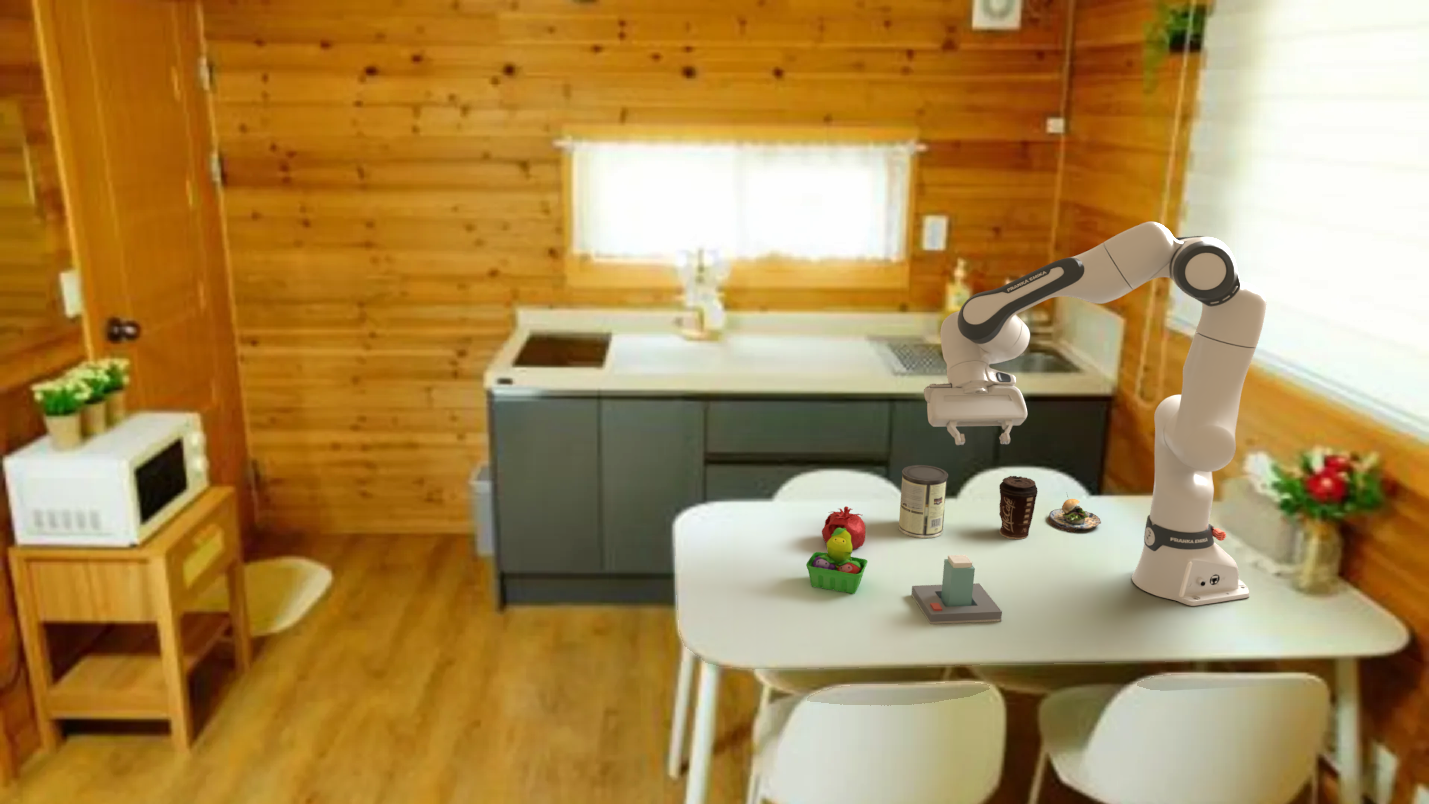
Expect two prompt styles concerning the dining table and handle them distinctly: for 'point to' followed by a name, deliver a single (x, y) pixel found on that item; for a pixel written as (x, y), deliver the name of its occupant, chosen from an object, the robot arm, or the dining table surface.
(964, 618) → the socket plate
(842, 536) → the fruit basket
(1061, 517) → the burger
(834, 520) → the pomegranate
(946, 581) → the plug
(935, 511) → the coffee can
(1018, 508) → the coffee cup
